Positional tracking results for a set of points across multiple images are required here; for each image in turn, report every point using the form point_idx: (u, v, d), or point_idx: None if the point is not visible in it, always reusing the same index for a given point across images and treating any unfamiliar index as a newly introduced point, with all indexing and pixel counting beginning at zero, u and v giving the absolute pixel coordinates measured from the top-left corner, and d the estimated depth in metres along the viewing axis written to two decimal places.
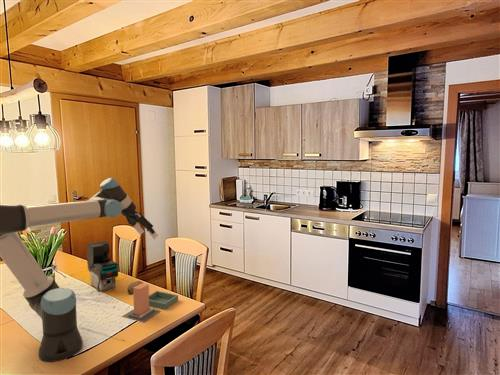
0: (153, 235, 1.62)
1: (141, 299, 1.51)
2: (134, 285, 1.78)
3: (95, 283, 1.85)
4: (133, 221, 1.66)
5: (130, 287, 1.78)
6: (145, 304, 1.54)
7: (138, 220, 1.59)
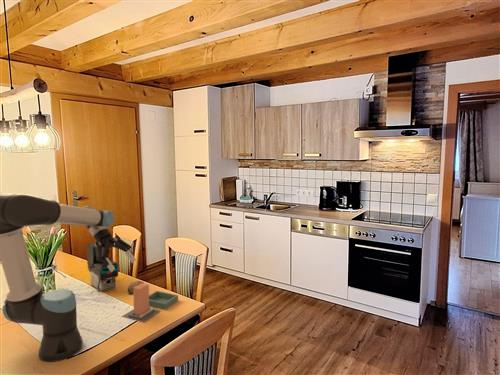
0: None
1: (141, 299, 1.51)
2: (134, 285, 1.79)
3: (95, 283, 1.85)
4: None
5: (130, 287, 1.79)
6: (145, 304, 1.54)
7: None
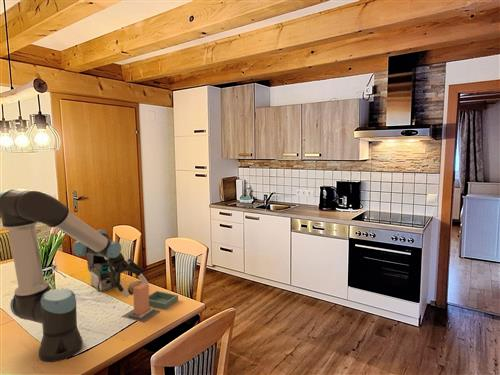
0: None
1: (141, 299, 1.51)
2: (134, 285, 1.79)
3: (95, 283, 1.85)
4: None
5: (130, 287, 1.79)
6: (145, 304, 1.54)
7: None
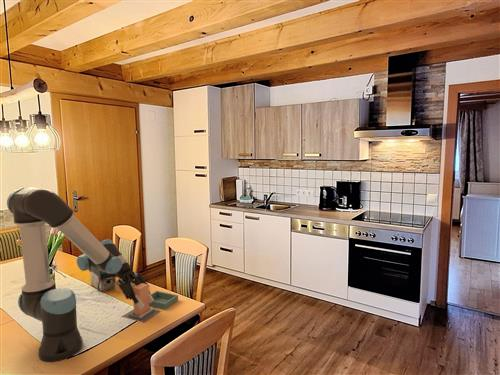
0: None
1: (141, 299, 1.51)
2: (135, 285, 1.79)
3: (95, 283, 1.85)
4: None
5: None
6: (145, 304, 1.54)
7: None
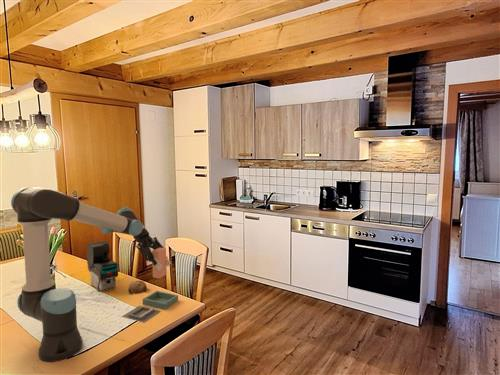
0: None
1: (159, 261, 1.61)
2: (135, 285, 1.79)
3: (95, 283, 1.85)
4: None
5: (131, 287, 1.79)
6: (163, 267, 1.64)
7: (154, 244, 1.68)
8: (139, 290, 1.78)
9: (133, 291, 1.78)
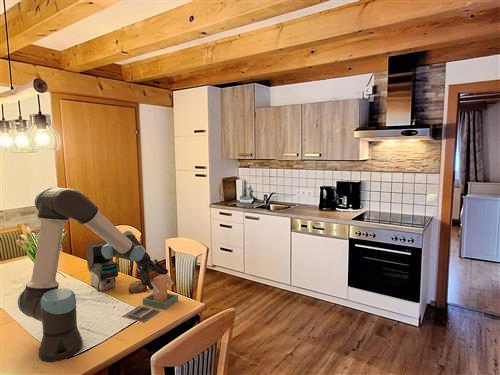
0: None
1: (160, 289, 1.63)
2: (135, 284, 1.79)
3: (95, 283, 1.85)
4: None
5: (131, 286, 1.79)
6: (164, 294, 1.66)
7: None
8: (139, 290, 1.79)
9: (133, 291, 1.78)
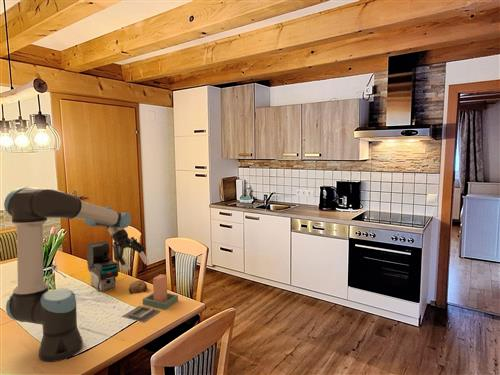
0: None
1: (160, 289, 1.63)
2: (135, 284, 1.80)
3: (95, 283, 1.85)
4: None
5: (131, 286, 1.80)
6: (164, 294, 1.66)
7: None
8: (140, 290, 1.79)
9: (134, 291, 1.78)
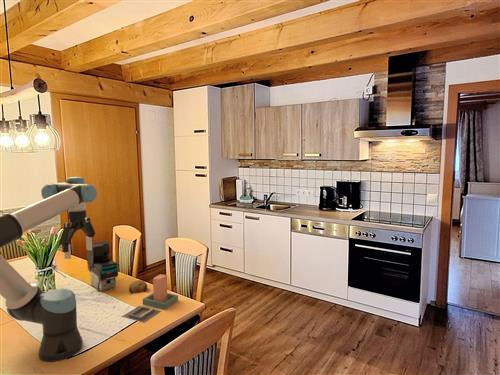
0: None
1: (160, 289, 1.63)
2: (136, 284, 1.80)
3: (95, 283, 1.85)
4: None
5: (132, 286, 1.80)
6: (164, 294, 1.66)
7: None
8: (140, 290, 1.79)
9: (134, 290, 1.78)
